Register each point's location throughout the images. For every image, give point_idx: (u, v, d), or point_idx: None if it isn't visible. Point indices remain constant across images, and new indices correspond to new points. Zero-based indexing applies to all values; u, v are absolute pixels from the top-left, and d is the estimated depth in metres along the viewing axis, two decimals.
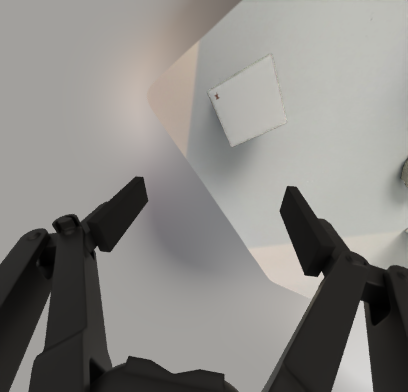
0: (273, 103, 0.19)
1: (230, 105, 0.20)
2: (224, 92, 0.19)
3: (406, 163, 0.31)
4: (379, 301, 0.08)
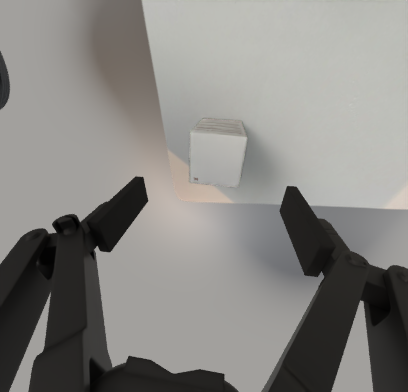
0: (224, 143, 0.21)
1: (207, 173, 0.23)
2: (196, 172, 0.23)
3: None
4: (379, 301, 0.08)
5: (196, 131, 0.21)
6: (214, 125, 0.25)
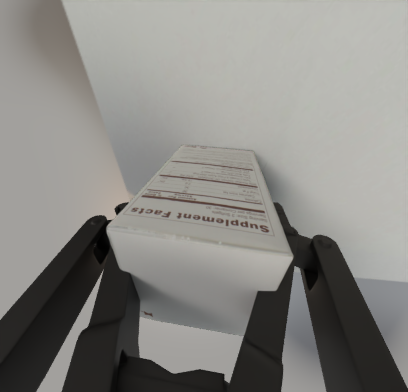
0: (216, 265, 0.07)
1: (173, 310, 0.09)
2: (145, 305, 0.09)
3: None
4: (306, 265, 0.10)
5: (127, 227, 0.07)
6: (195, 177, 0.11)
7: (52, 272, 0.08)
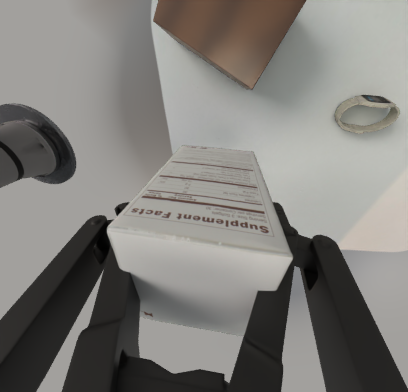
0: (216, 266, 0.07)
1: (173, 311, 0.09)
2: (145, 306, 0.09)
3: None
4: (306, 265, 0.10)
5: (127, 227, 0.07)
6: (195, 178, 0.11)
7: (52, 272, 0.08)
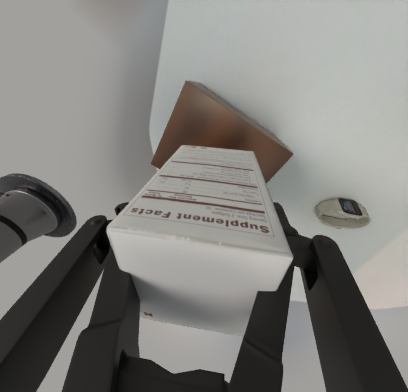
0: (216, 266, 0.07)
1: (173, 311, 0.09)
2: (145, 306, 0.09)
3: None
4: (306, 265, 0.10)
5: (127, 227, 0.07)
6: (195, 178, 0.11)
7: (52, 272, 0.08)
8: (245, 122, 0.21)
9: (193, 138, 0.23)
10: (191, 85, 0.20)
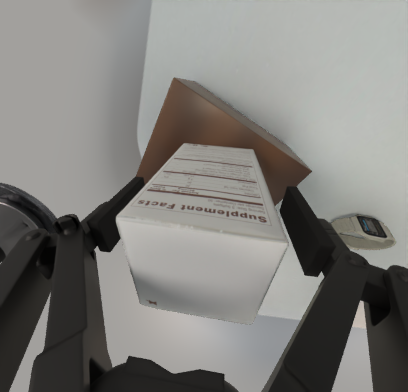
0: (217, 252, 0.07)
1: (176, 298, 0.10)
2: (150, 294, 0.10)
3: None
4: (379, 301, 0.08)
5: (135, 217, 0.07)
6: (197, 173, 0.11)
7: None
8: (251, 131, 0.16)
9: None
10: (181, 84, 0.15)
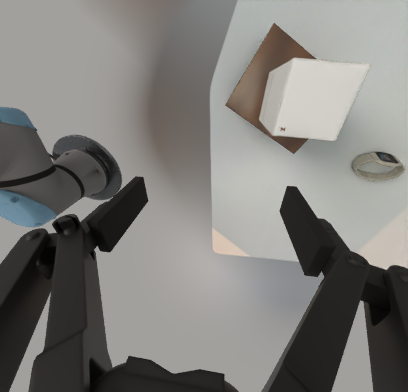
0: (336, 75, 0.16)
1: (299, 120, 0.19)
2: (285, 120, 0.19)
3: None
4: (379, 301, 0.08)
5: (301, 59, 0.16)
6: None
7: None
8: None
9: None
10: (277, 27, 0.24)
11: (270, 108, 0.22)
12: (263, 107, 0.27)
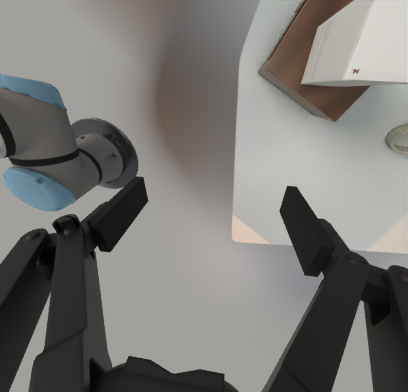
0: None
1: (377, 59, 0.17)
2: (360, 59, 0.17)
3: (390, 146, 0.40)
4: (379, 301, 0.08)
5: None
6: None
7: None
8: None
9: None
10: None
11: (331, 56, 0.20)
12: (311, 65, 0.25)
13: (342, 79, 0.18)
